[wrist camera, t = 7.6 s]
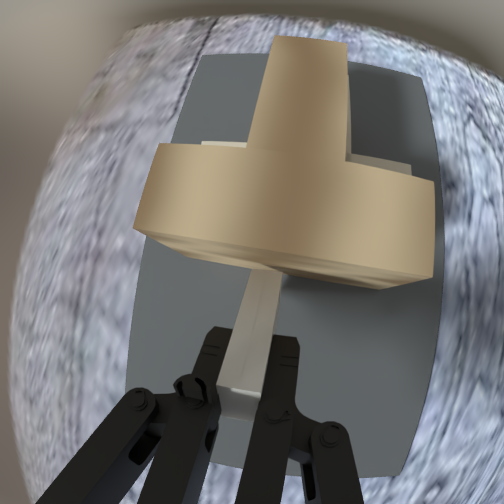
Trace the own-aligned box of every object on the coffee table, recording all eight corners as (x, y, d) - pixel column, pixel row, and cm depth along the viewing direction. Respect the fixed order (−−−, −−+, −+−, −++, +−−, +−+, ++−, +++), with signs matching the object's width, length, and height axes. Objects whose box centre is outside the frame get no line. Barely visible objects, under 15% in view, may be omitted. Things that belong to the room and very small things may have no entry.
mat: (420, 79, 19) (420, 77, 19) (398, 474, 13) (399, 475, 13) (202, 56, 22) (202, 55, 22) (125, 432, 16) (123, 433, 16)
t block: (386, 125, 18) (414, 60, 11) (379, 289, 16) (432, 277, 9) (228, 103, 20) (206, 36, 13) (187, 257, 18) (132, 228, 11)
